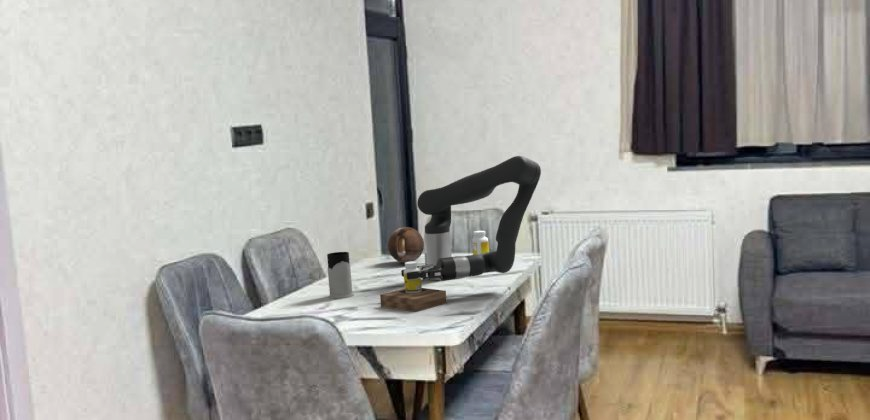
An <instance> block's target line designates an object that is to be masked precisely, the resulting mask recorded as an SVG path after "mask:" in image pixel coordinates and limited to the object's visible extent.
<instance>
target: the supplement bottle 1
mask: <svg viewBox="0 0 870 420" xmlns="http://www.w3.org/2000/svg"><path fill="white" fill-rule="evenodd" d="M417 266H418V262H417V260H415V261H411V262H406V263H404V268H405V269H403V270H404V277H403V281H404V288H405V292H406V293H410V294H412V293H418V292H421V291H422V288H423V286H422V279H419V277H418V278H416V279H407V275H406V273H407V272H415V271H419V270H420V269H418V268H417Z"/></svg>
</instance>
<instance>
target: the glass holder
mask: <svg viewBox="0 0 870 420" xmlns="http://www.w3.org/2000/svg"><path fill="white" fill-rule="evenodd" d="M326 256H327V257H326V258H327V276H328V288H329V289H328V290H329V294H328V299H330V300H331V299H332V300H341V299H349V298H352V297H354V296H355V295H354V292H353V283H352V281H353V280H352V270H351V265H350V253H349V252H348V251H334V252H330V253H327V254H326Z"/></svg>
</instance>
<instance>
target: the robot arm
mask: <svg viewBox="0 0 870 420" xmlns="http://www.w3.org/2000/svg"><path fill="white" fill-rule="evenodd" d="M541 173H542V170H541V166H540V164H539V163H538V162H536V161H535V160H532V159H530V158H528V157H525V156H522V155H516V156H512V157H511V158H508V159H506V160H503V162H500V163H498V164H497V165H494V166H492V167H489V168H486V169H484V170H482V171H479V172H475V173H473V174H470V175H467V176H465V177H462V178H459V179H457V180H455V181H453V182H451V183H449V184H447V185H444V186H442V187H441V186H440V187H437V188H434V189H433V188H432V189H428V190H425V191H423V192H422V193H421V194H420V195H419V196H418V198H417V202H416V203H417V208H418V210H419V211H420V212H421V213H423V214H424V215H427V216H431V218H430V220H429V221H428V222H427V223H426V224H425V225H424V236H425V237H424V240H425V250H426V251H425V253H424V263H425V264H421V265H417V268H418V269H420V270H419V271H415V272H407V273H406V275H407V279H416V278H418V277H419V279H421V280H431V281H441V282H446V281H454V280H461V279H464V278H471V277H476V276H477V277H478V276H480V275H483V274H485V273H488V274H489V273H495V272H496V273H500V274H506V273H509V272H510V270H512V268H513V265H514V263H515V258H516V248H517V247H516V243H517V239H518V236H519V232H520V229H521V225H522V221H523V219H524V216H525V214H526V211H527V209H528V206H529V205H530V202H531V200H532V197H533V194H534V193H535V191H536V188H537V186H538V183H539V181H540V178H541ZM509 183H513V184H516V185H518V188H517V193H516V195H515V198H514V199H513V201H512V203H511V204H510V205H509V206H508V207H507V208H506V210H505V211H504V212H503V214H502V216H501V218H500V219H499V224H498V227H497V230H496V235H495V240H496V243H497V245H496V246H497V247H496V250H494V251H489V252H487V253H483V254H479V255H473V254H471V255H470V254H469V255H456V256H452V244H451V242H452V241H451V229H450V228H451V224H452V206H456V205H462V204H468V203H474V202H476V201H479V200H482V199H485V198H487V197H489V196H490V195H491V194H492V193H493V192H494V190H495V189H496V188H497V187H498V186H500V185H504V184H509ZM404 270H405V269H401V272H400V273H401V277H403V278H404Z"/></svg>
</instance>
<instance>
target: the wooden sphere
mask: <svg viewBox="0 0 870 420" xmlns="http://www.w3.org/2000/svg"><path fill="white" fill-rule="evenodd" d="M424 242H425V241H424V238H423V235H421V233H420V232H419V231H418V230H416V229H415V228H413V227H409V226H403V227H399V228H397V229H396V230H394V231H393V232H392V233H391V235H390V236H389V238H388V243H387V249H388V252H389V254H390V256H391V257H392V258H393V259H394V260H395V261H397V262H398V263H400V264H401V263H402V264H405V263H406V262H411V261H417V260H418V259H419V258H420V257H421V256H422V254H423V252H424V248H425V245H424V244H425V243H424Z"/></svg>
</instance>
